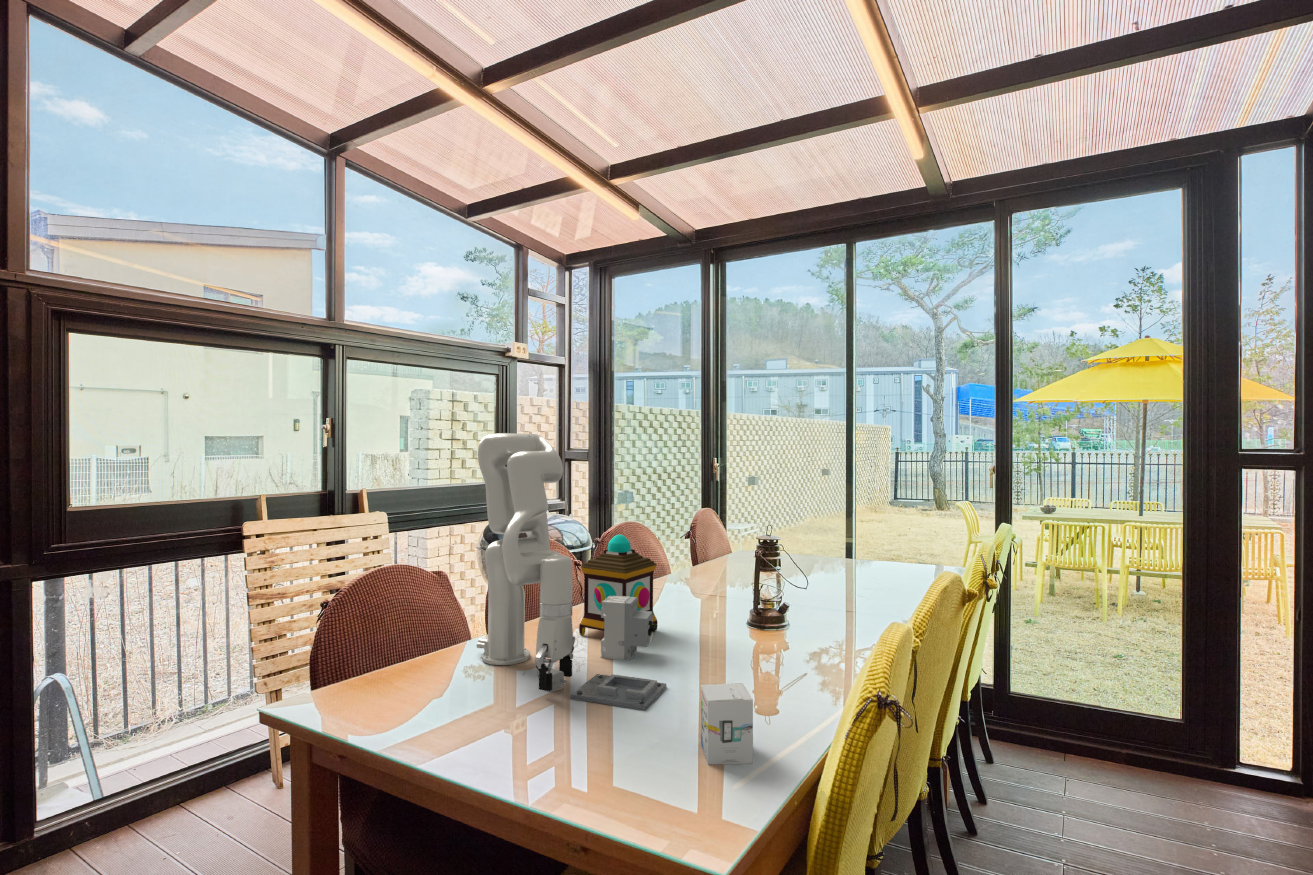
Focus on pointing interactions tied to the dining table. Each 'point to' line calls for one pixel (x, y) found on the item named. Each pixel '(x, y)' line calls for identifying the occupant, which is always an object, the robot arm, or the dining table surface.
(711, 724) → the ink box
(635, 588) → the decorative lantern
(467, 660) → the dining table surface
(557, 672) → the usb wall charger
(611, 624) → the circuit breaker
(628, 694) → the plate
